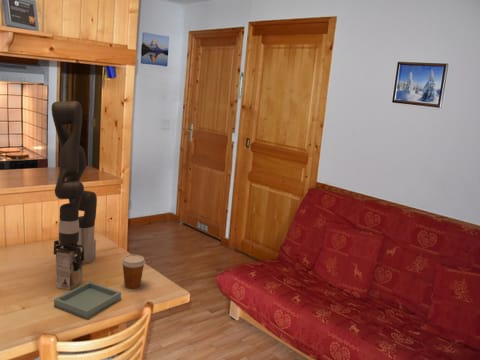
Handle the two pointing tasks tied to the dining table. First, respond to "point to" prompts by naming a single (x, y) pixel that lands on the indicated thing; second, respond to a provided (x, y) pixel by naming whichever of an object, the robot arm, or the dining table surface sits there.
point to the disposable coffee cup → (133, 270)
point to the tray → (87, 300)
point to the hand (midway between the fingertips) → (68, 268)
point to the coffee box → (67, 269)
